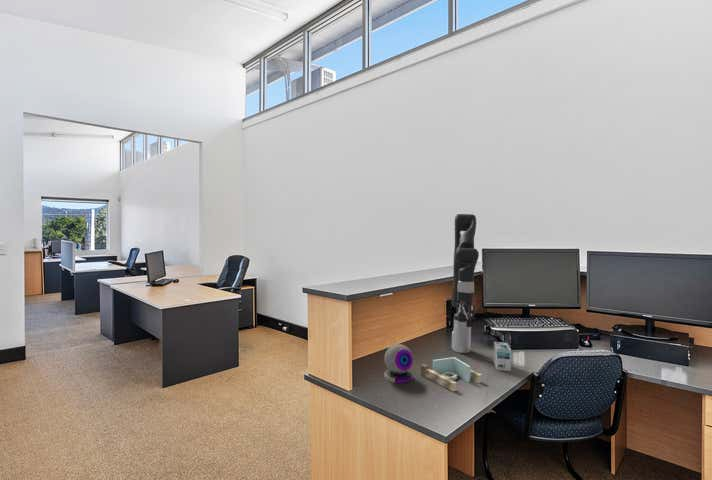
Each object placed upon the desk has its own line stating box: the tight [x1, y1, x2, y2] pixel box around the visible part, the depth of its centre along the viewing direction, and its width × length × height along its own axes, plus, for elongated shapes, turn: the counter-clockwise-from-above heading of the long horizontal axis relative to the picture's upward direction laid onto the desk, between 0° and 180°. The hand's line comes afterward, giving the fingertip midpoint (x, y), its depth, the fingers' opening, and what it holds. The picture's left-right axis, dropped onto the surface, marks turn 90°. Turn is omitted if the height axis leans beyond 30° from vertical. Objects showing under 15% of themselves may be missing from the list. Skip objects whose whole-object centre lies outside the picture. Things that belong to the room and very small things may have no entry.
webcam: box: [383, 343, 414, 384], centre depth 170 cm, size 13×13×15 cm
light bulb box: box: [493, 341, 512, 372], centre depth 184 cm, size 11×7×11 cm, turn 168°
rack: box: [420, 363, 483, 392], centre depth 170 cm, size 20×18×4 cm
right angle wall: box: [431, 356, 472, 383], centre depth 170 cm, size 12×12×8 cm
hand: (464, 324), depth 176 cm, fingers open, 8 cm apart
